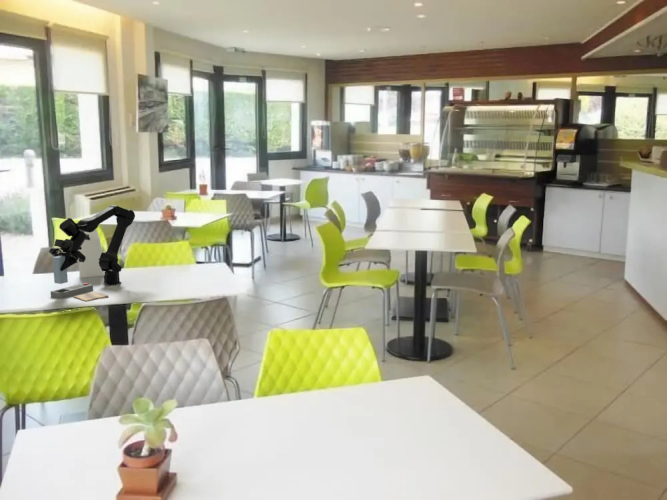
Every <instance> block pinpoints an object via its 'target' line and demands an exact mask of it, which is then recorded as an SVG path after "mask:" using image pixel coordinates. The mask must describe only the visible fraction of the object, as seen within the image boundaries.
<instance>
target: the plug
mask: <svg viewBox="0 0 667 500" xmlns="http://www.w3.org/2000/svg"><path fill="white" fill-rule="evenodd" d="M51 258H52V267H53V268H52V269H53V270H52V271H53V281H54V284H58V285H62V284H65V283H68V280H69V279H68V268H66V269H65V270H63V271H60V268H61V266H62V265H63V263H64V261H65V256H56V257H54V256H52V257H51Z"/></svg>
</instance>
